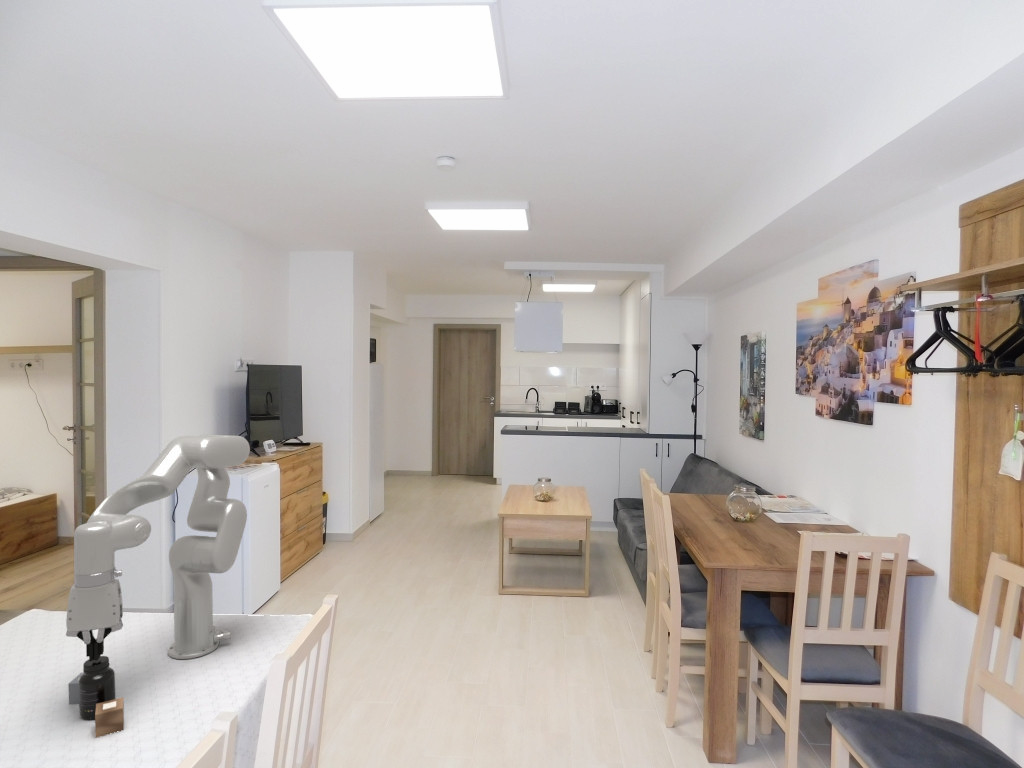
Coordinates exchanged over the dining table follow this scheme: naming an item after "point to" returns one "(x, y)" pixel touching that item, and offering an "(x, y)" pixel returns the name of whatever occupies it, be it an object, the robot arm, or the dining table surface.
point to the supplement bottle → (95, 686)
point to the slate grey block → (74, 690)
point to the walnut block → (109, 717)
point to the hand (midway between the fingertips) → (95, 658)
